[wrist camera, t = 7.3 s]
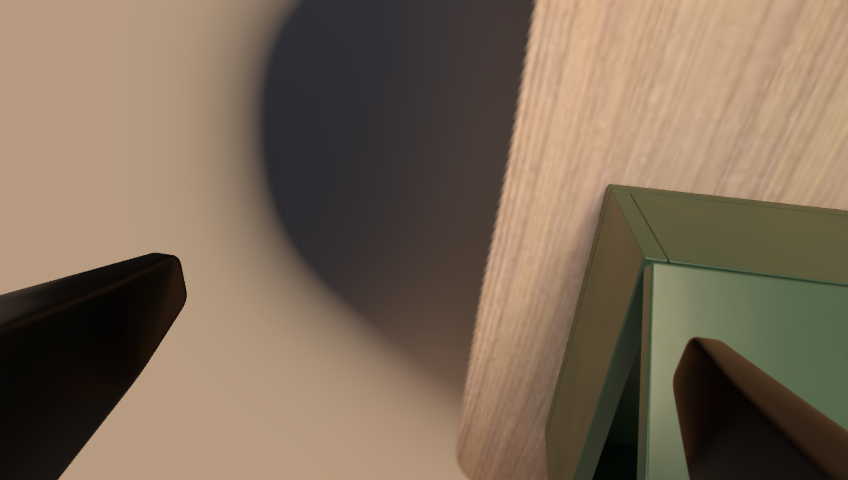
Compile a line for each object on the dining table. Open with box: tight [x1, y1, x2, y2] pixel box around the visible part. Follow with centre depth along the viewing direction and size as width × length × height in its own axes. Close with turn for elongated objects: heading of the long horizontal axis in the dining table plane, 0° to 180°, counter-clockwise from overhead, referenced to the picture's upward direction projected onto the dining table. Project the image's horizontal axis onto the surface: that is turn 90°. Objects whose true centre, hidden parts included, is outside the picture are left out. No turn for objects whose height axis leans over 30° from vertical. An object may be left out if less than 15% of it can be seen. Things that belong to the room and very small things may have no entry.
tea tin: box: [545, 184, 848, 480], centre depth 19 cm, size 14×10×6 cm
